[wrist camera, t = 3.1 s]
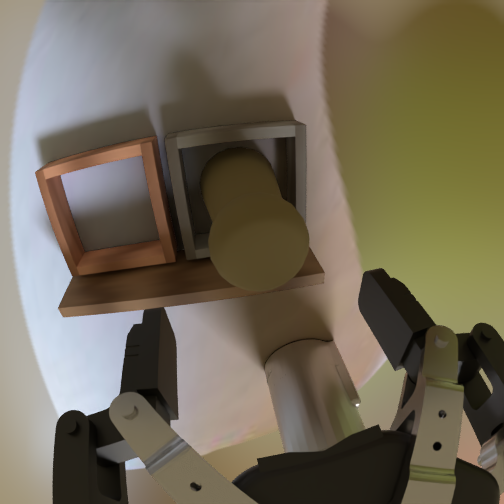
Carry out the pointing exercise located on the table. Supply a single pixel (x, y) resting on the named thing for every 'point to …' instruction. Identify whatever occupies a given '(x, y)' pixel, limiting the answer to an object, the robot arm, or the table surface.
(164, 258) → the shaker rack
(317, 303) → the table surface
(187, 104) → the table surface
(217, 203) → the cork
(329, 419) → the robot arm
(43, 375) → the table surface
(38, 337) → the table surface
